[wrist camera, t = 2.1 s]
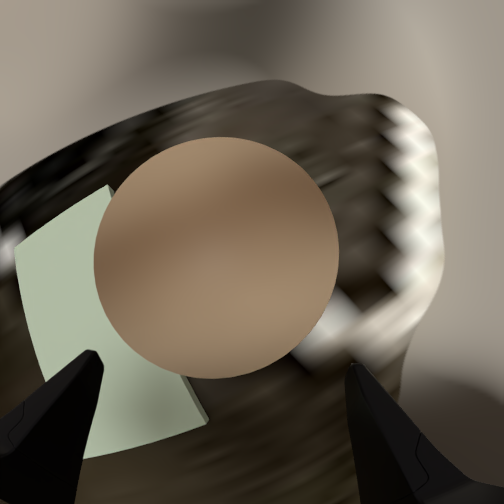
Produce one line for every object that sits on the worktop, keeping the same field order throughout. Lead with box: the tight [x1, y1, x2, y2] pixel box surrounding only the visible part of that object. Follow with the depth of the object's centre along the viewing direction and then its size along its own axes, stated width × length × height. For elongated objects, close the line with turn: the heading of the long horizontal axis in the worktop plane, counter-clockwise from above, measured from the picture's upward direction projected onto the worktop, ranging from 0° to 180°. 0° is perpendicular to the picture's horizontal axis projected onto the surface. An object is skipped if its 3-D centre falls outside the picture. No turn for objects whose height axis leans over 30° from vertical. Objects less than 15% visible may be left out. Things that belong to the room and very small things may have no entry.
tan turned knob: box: [94, 137, 339, 379], centre depth 14 cm, size 7×7×13 cm
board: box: [14, 185, 209, 459], centre depth 19 cm, size 20×12×1 cm, turn 27°
